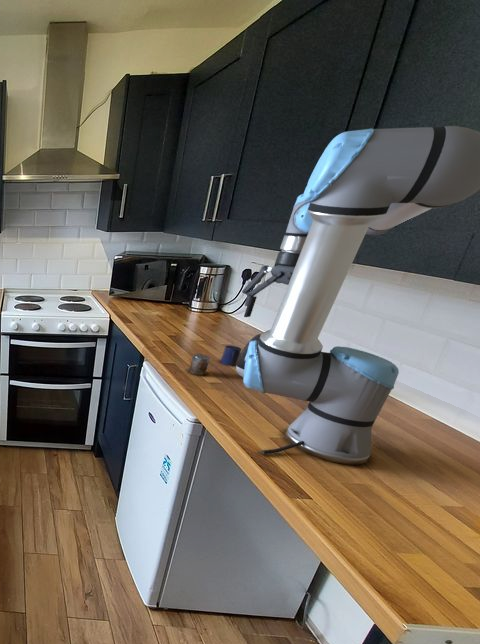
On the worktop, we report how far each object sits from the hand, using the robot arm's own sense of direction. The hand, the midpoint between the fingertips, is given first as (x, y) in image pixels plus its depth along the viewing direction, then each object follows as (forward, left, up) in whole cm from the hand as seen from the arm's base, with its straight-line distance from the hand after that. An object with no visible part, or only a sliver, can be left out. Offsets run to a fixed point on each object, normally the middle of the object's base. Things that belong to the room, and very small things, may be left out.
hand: (269, 321), depth 127 cm
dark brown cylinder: (-13, +11, -19) cm, 26 cm away
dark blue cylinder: (+7, +11, -19) cm, 23 cm away
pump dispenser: (0, 0, -19) cm, 19 cm away
